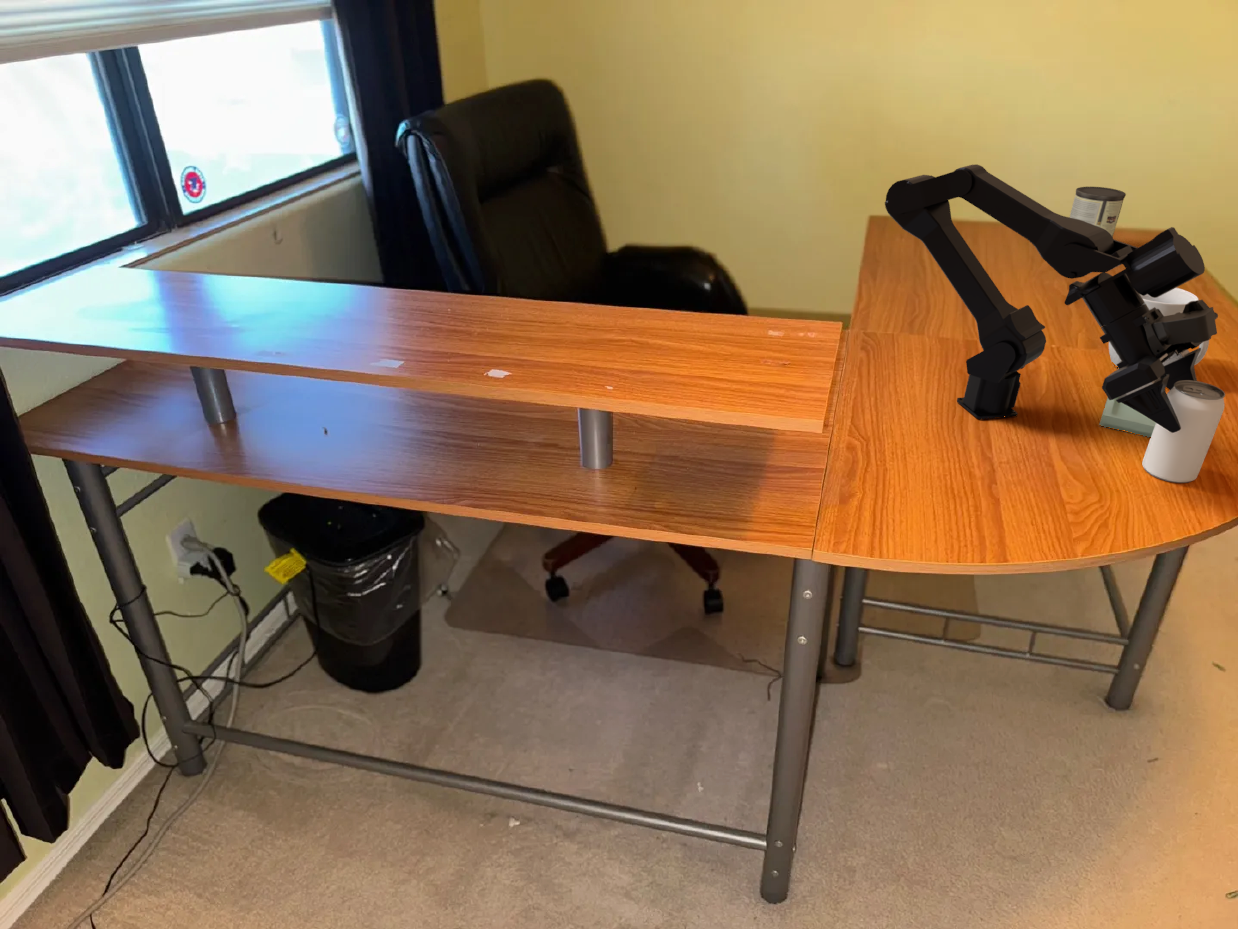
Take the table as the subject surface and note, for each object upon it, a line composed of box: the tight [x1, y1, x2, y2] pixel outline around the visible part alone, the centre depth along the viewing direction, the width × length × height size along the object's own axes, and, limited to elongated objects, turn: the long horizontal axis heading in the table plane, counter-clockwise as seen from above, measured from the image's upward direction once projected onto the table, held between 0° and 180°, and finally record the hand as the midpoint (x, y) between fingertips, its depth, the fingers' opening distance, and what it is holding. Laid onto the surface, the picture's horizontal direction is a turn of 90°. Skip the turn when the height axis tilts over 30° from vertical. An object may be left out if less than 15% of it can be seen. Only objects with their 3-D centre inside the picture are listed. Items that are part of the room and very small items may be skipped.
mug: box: [1108, 287, 1210, 366], centre depth 142 cm, size 15×11×13 cm
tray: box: [1098, 397, 1156, 438], centre depth 129 cm, size 12×12×2 cm
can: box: [1141, 380, 1226, 484], centre depth 113 cm, size 6×6×12 cm
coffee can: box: [1068, 186, 1127, 237], centre depth 205 cm, size 10×10×14 cm
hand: (1188, 420), depth 112 cm, fingers open, 9 cm apart
